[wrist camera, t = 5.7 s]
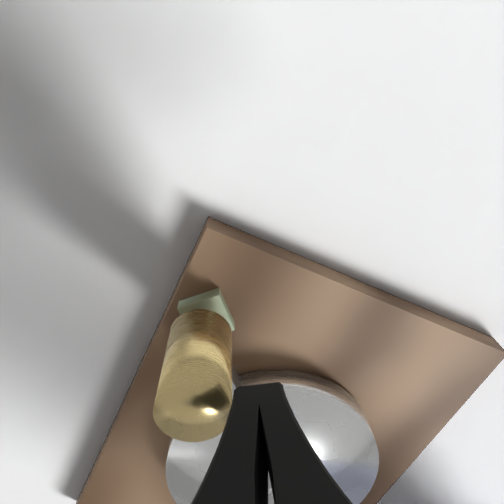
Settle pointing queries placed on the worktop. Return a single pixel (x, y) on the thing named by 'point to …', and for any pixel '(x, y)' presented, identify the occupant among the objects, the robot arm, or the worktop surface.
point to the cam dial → (220, 399)
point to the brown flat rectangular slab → (300, 357)
